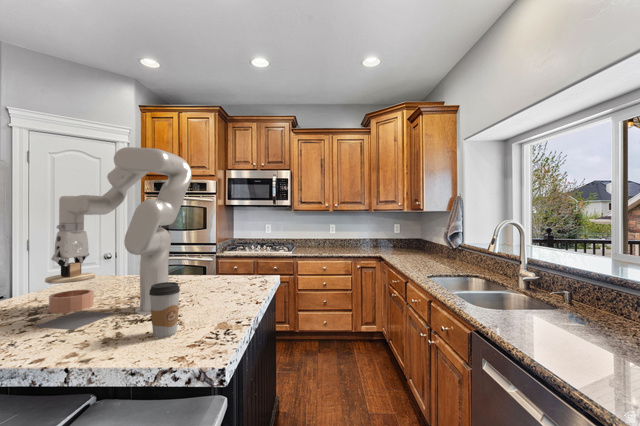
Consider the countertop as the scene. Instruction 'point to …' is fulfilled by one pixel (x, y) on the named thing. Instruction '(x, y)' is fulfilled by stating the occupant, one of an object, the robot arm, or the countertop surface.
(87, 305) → the bowl
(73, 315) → the mat
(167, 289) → the coffee cup
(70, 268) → the lid
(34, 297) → the countertop surface
